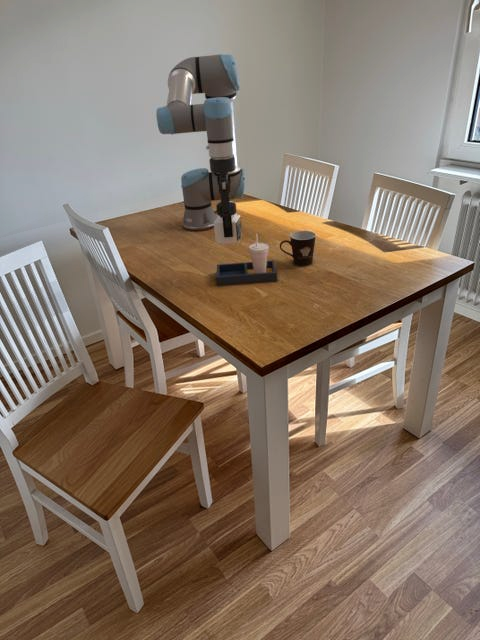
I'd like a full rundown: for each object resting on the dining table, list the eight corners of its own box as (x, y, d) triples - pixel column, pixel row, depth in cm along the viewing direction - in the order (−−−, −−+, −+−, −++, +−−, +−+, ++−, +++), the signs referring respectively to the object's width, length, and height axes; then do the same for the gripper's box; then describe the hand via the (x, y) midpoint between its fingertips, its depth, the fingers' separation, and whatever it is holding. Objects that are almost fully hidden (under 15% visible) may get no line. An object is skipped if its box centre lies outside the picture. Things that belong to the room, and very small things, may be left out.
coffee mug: (317, 258, 160) (318, 231, 155) (312, 268, 153) (313, 240, 148) (285, 256, 164) (284, 229, 159) (279, 266, 157) (278, 238, 152)
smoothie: (249, 270, 154) (247, 231, 146) (268, 268, 154) (266, 229, 147) (251, 278, 148) (249, 238, 141) (271, 276, 148) (269, 236, 141)
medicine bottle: (237, 244, 141) (234, 206, 135) (215, 244, 142) (211, 206, 136) (242, 235, 147) (239, 199, 141) (220, 235, 148) (217, 199, 142)
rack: (217, 272, 156) (217, 264, 154) (274, 268, 156) (273, 260, 154) (217, 285, 147) (216, 277, 146) (276, 281, 147) (276, 272, 145)
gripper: (210, 151, 141) (217, 222, 152) (207, 165, 123) (216, 245, 134) (234, 149, 141) (239, 220, 152) (235, 163, 123) (241, 243, 134)
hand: (228, 231), depth 143 cm, fingers closed on medicine bottle, 8 cm apart
